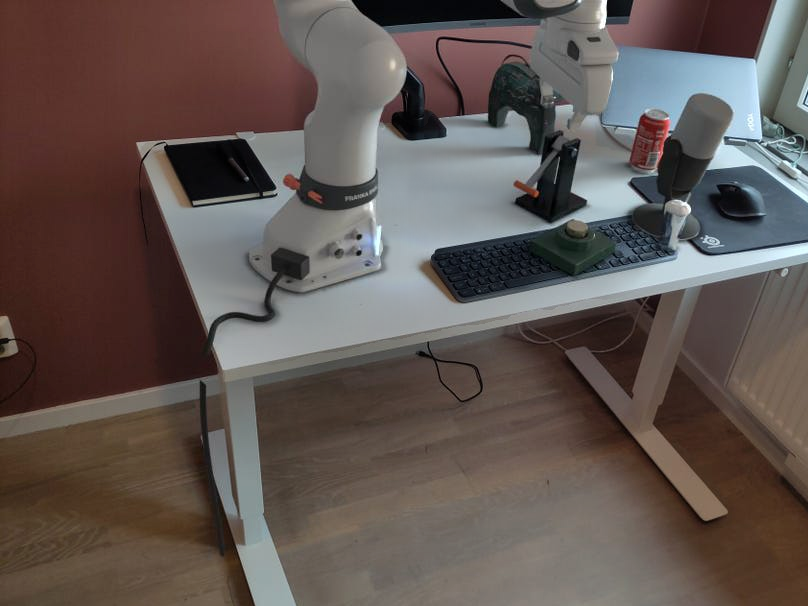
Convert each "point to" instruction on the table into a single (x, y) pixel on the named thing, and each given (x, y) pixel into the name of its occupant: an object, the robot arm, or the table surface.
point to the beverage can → (649, 140)
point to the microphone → (686, 159)
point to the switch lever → (542, 168)
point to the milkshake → (673, 223)
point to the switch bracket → (558, 196)
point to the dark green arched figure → (521, 101)
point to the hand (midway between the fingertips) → (559, 118)
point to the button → (576, 229)
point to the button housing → (572, 249)
